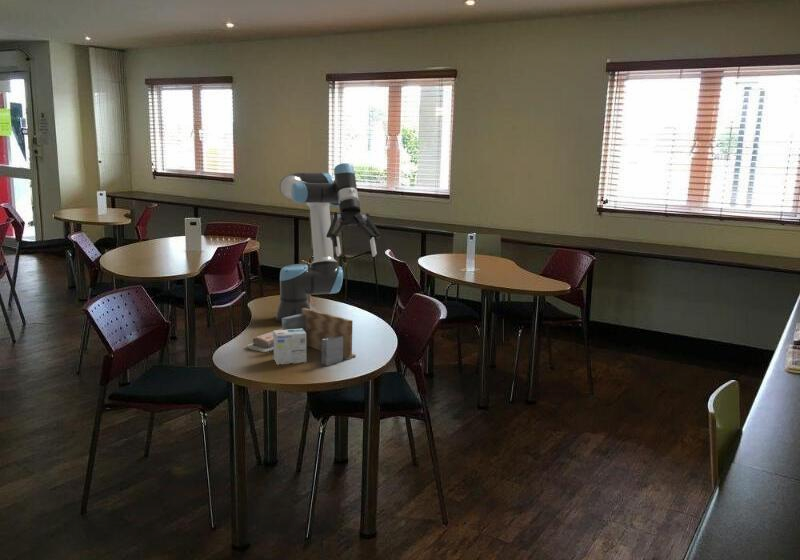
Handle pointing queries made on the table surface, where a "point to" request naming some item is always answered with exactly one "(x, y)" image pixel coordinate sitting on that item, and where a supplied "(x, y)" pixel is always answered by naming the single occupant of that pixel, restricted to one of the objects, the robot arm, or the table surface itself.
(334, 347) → the bookend
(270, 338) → the packaged product
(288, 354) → the light bulb box
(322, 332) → the rack
